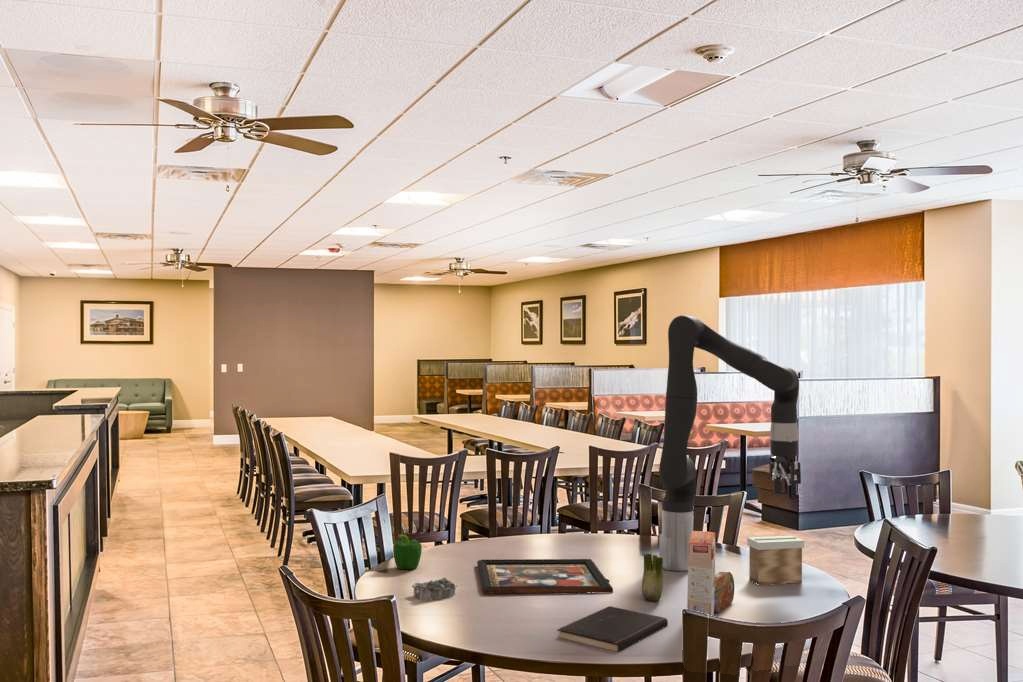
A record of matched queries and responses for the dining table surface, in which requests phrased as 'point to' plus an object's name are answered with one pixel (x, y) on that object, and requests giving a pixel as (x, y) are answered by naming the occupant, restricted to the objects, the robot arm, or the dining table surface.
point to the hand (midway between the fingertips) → (784, 496)
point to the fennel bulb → (652, 577)
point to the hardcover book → (613, 628)
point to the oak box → (775, 566)
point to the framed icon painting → (541, 576)
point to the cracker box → (701, 572)
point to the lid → (775, 542)
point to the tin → (723, 591)
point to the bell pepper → (407, 553)
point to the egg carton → (434, 589)
